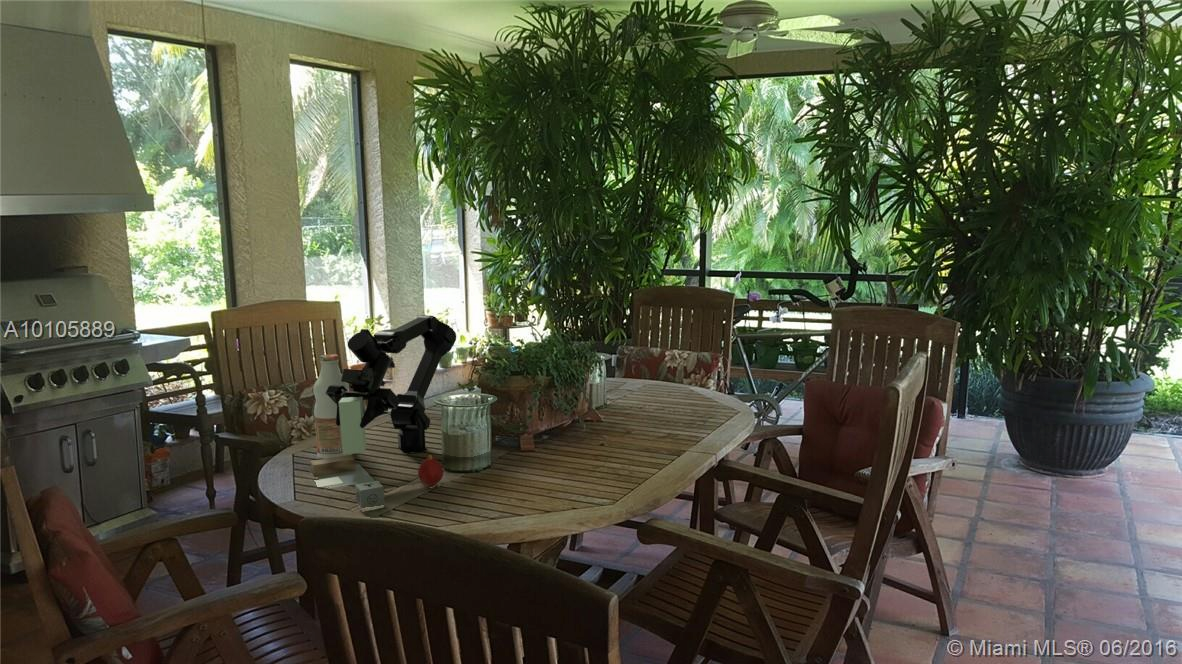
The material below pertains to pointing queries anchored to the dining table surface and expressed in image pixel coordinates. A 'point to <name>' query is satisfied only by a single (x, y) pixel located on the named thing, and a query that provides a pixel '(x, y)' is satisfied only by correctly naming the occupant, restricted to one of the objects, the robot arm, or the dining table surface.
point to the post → (352, 425)
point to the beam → (332, 465)
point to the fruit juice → (327, 409)
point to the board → (344, 478)
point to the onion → (430, 471)
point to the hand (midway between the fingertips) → (349, 426)
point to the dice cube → (369, 494)
